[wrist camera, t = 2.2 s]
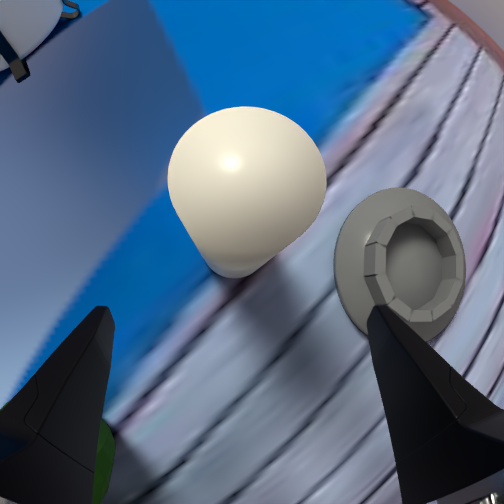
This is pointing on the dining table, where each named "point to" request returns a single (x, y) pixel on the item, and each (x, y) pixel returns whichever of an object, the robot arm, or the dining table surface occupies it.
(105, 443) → the bell pepper
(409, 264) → the holder
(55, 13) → the coffee press
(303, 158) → the candle
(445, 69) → the dining table surface
